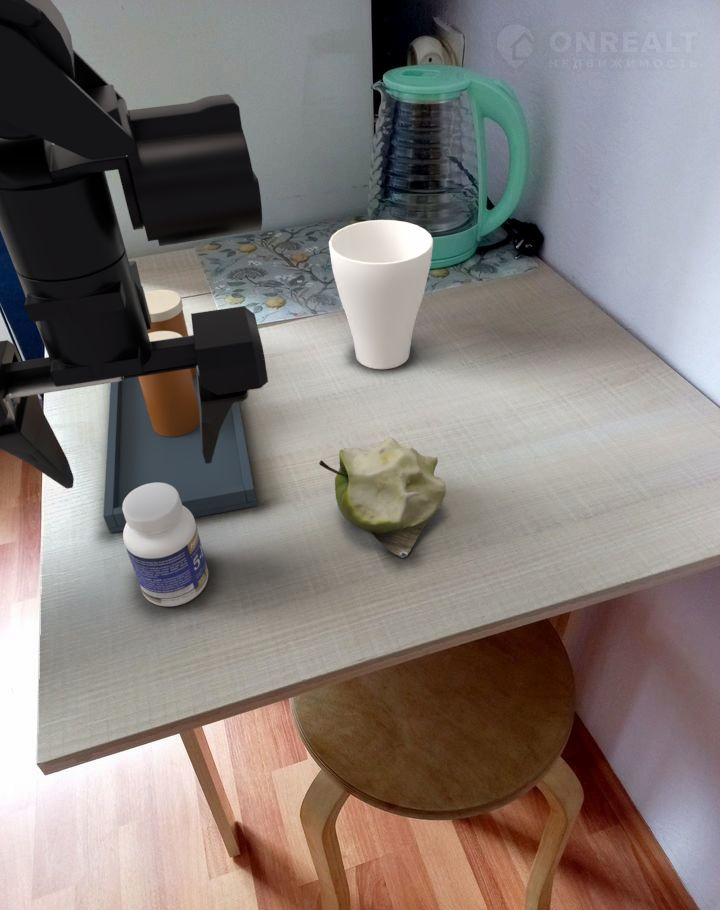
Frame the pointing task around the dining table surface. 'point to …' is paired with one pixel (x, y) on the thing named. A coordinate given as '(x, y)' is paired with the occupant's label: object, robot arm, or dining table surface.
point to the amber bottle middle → (170, 397)
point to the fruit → (388, 492)
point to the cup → (381, 286)
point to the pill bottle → (163, 545)
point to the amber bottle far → (167, 313)
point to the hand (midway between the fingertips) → (140, 471)
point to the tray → (172, 459)
